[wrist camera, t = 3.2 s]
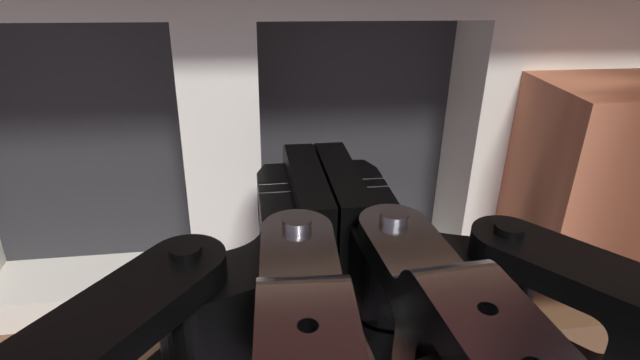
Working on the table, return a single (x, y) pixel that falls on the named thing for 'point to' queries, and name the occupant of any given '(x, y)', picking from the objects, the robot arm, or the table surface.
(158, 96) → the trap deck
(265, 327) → the robot arm
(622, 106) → the block
